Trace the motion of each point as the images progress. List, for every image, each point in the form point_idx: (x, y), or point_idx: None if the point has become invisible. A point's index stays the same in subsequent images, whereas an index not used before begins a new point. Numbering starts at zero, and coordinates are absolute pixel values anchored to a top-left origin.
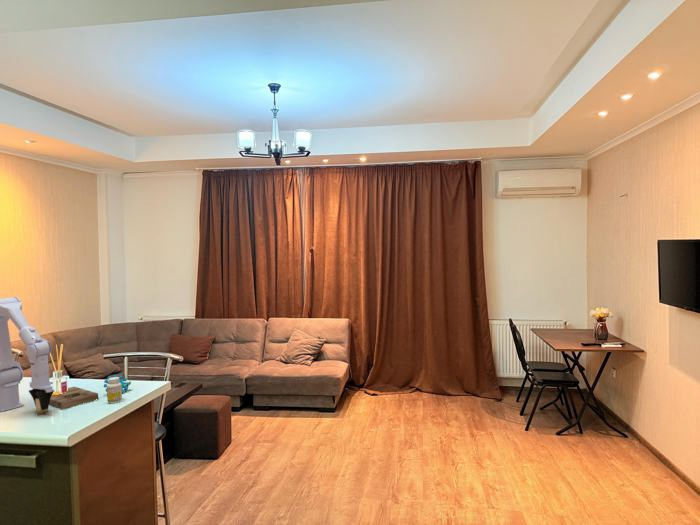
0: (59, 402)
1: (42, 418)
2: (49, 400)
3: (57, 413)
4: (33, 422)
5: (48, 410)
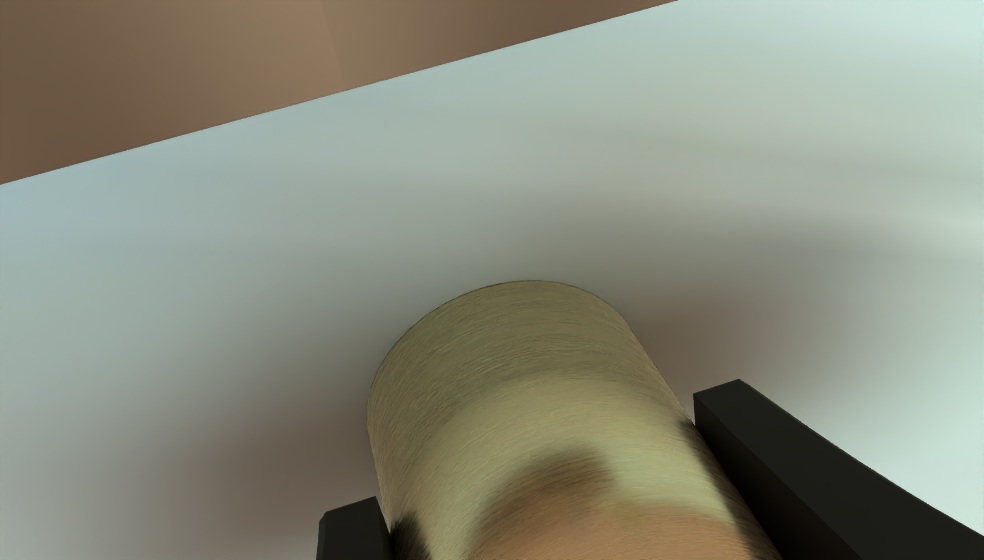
0: (527, 35)
1: (913, 401)
2: (958, 528)
3: (892, 108)
4: (974, 516)
5: (556, 305)
